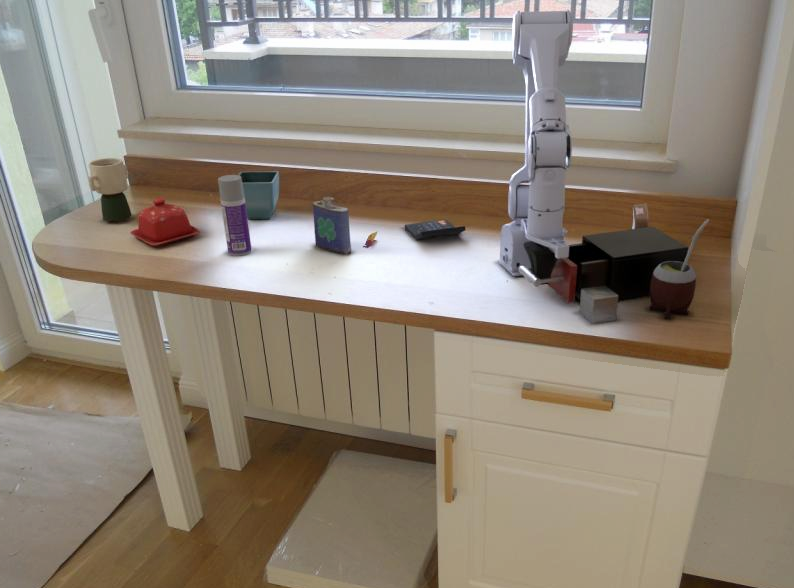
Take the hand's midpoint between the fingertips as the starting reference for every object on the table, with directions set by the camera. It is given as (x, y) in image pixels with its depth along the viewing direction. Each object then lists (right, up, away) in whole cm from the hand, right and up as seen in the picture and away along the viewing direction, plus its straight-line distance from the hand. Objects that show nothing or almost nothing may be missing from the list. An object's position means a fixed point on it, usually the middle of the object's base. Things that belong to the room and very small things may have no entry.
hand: (541, 283), depth 138 cm
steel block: (+8, -6, -5) cm, 12 cm away
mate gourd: (+21, -5, -4) cm, 22 cm away
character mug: (-89, +20, +43) cm, 101 cm away
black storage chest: (+17, 0, +6) cm, 18 cm away
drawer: (+6, -1, +3) cm, 7 cm away
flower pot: (-56, +20, +43) cm, 74 cm away
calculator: (-18, +14, +30) cm, 38 cm away
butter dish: (-75, +14, +32) cm, 82 cm away
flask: (-38, +10, +24) cm, 46 cm away
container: (-57, +9, +24) cm, 63 cm away
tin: (+22, +9, +20) cm, 31 cm away
